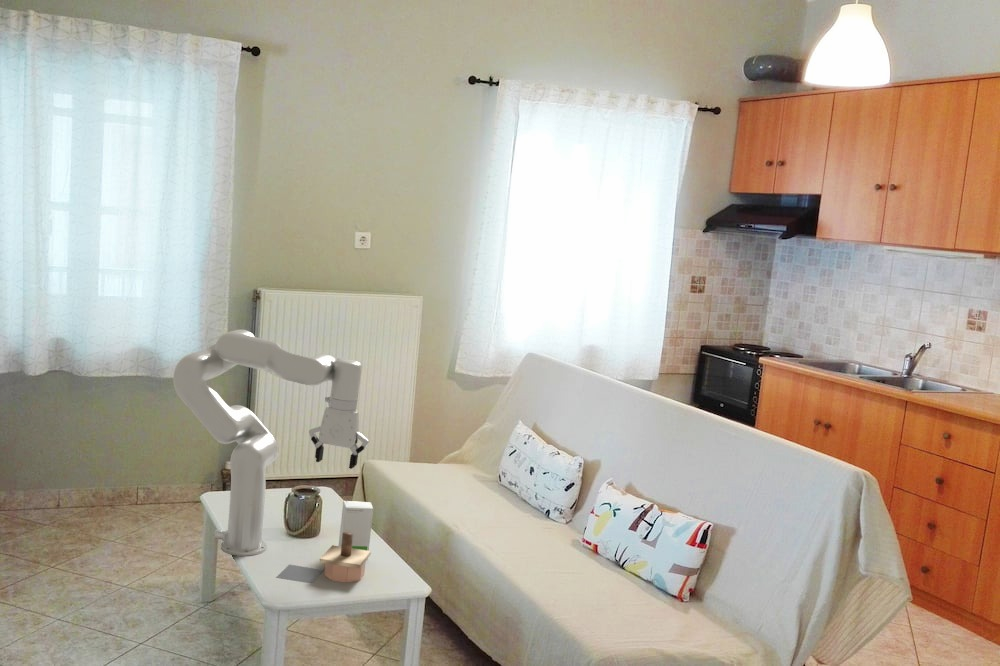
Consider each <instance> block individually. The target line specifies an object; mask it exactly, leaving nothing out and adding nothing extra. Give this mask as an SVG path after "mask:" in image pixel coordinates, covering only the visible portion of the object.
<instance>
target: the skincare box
mask: <svg viewBox="0 0 1000 666" xmlns="http://www.w3.org/2000/svg"><path fill="white" fill-rule="evenodd" d="M373 516H374V507H373V505H372V502H370V501H368V502H367V501H360V500H359V501H357V500H354V501H352V500H343V501H342V510H341V519H340V529H339V539H338V545H337V546H341V545H342V534H343V532H352V533H353V539H352V548H354V549H360V550H367V551H370V550H369V549H370V542H371V541H370V540H371V531H372V523H373Z"/></svg>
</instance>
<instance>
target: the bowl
mask: <svg viewBox="0 0 1000 666" xmlns="http://www.w3.org/2000/svg"><path fill="white" fill-rule="evenodd" d="M366 561H367V560H366ZM366 561H365V562H364V563H363V565H362V566H361V567H360V568H354V567H347V566H341V565H334V564H328V563H324V564H325V565H324V576H325V577H327V578H328V579H329V580H331V581H333V582H341V583H352V582H358V581H359V582H360V581H361V580H362V579H363V578H364V576H365V572H366V571H365V570H366Z"/></svg>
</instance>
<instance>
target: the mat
mask: <svg viewBox="0 0 1000 666" xmlns="http://www.w3.org/2000/svg"><path fill="white" fill-rule="evenodd" d="M323 572H325V569H322V568H314V567H307V566H301V565H294V564H288V565H287V566H286V567H285V568H284V569H283V570H282V571H281V572H280V573H279V574H277V576H275V578H277V579H283V580H288V581H295V582H299V583H300V582H301V583H308V584H314V582H315V581H316V580H317V579H318V578H319V577H320V575H322V573H323Z"/></svg>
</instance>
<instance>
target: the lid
mask: <svg viewBox="0 0 1000 666" xmlns="http://www.w3.org/2000/svg"><path fill="white" fill-rule="evenodd" d="M352 539H353V533H352V532H343V534H342V545H341V546H338V545H335V544H333V545H331V546H330V547H329V548H328V549H327V550H326V551H325V552H324V554H323V555H321V557H320V558H319V563H322V564H325V563H328V564H334V565H341V566H347V567H354V568H360V567H361V566H362V565H363V563H364V562H365V561H368V560H369V558H370V557H371V554H372V551H371V550H369V551H367V550H360V549H354V548H352ZM365 563H366V562H365Z"/></svg>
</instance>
